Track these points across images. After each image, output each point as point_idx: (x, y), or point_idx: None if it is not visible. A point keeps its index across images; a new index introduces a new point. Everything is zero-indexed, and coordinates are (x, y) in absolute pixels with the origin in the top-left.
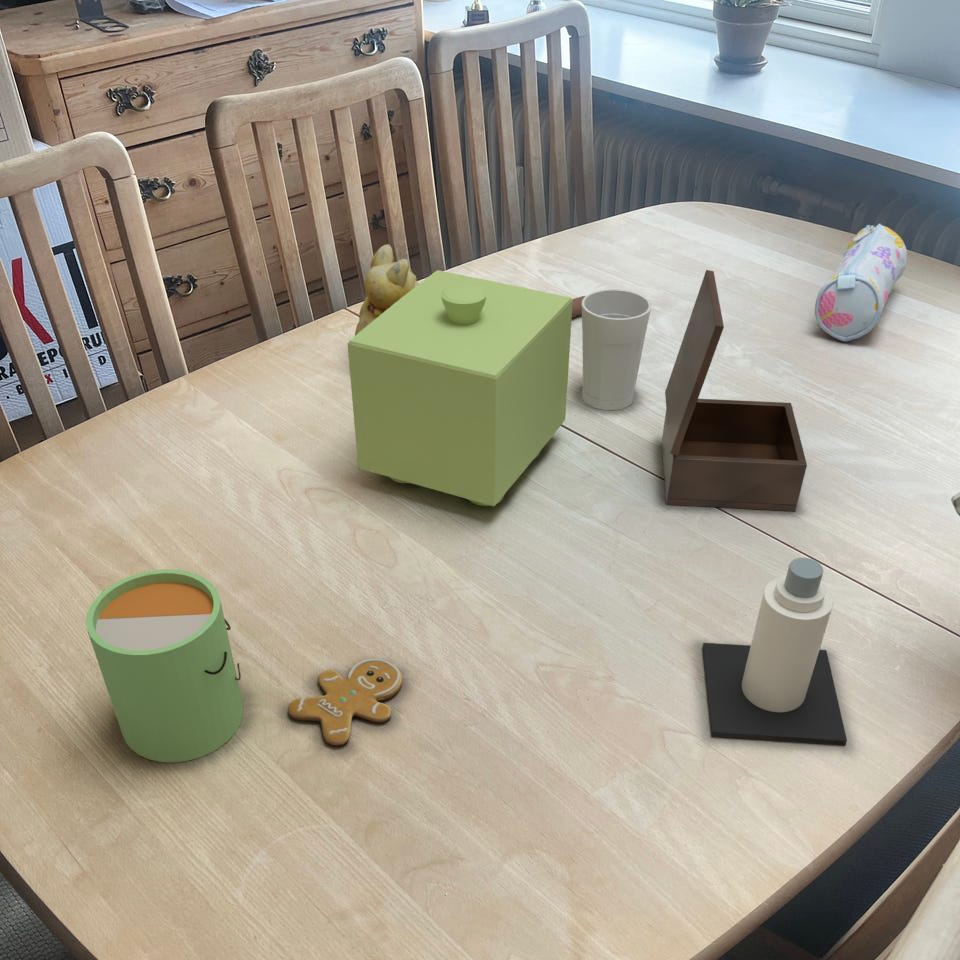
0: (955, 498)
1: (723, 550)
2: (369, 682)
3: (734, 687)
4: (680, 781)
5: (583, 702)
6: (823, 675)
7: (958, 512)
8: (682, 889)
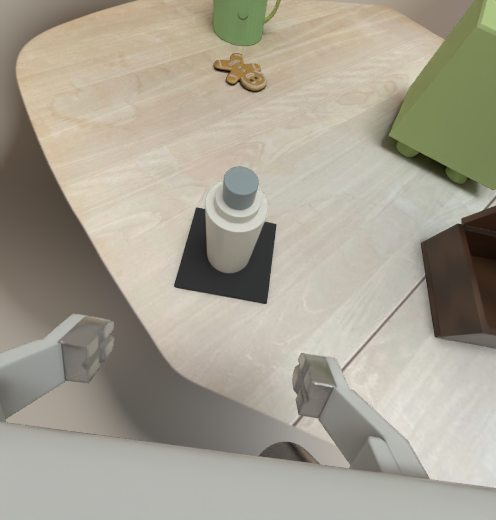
0: (327, 359)
1: (376, 267)
2: (250, 76)
3: None
4: (165, 185)
5: (232, 156)
6: (240, 291)
7: (300, 360)
8: (90, 167)
